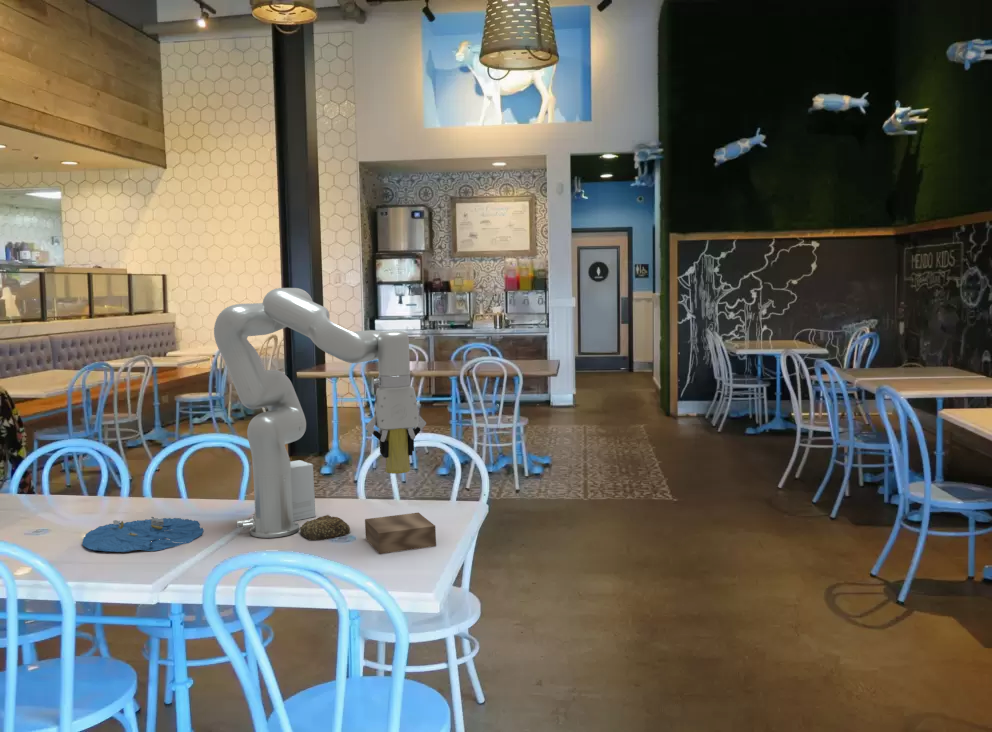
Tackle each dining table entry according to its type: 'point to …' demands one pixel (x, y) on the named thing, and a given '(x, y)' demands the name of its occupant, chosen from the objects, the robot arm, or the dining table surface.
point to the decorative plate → (142, 535)
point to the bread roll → (324, 528)
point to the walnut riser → (400, 533)
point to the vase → (397, 451)
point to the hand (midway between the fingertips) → (397, 455)
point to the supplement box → (302, 490)
